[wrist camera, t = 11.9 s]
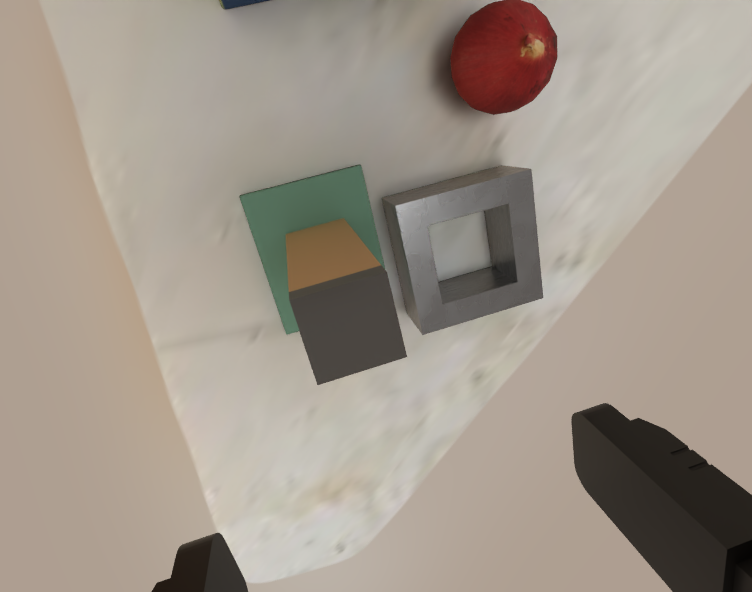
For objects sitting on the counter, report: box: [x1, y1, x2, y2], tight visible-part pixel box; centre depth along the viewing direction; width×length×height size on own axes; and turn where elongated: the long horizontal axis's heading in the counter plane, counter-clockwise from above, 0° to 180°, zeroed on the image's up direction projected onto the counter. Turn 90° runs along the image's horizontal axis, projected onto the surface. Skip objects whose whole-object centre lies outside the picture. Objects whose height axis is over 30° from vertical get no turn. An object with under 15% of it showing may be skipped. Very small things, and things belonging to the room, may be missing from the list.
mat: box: [240, 165, 385, 334], centre depth 31 cm, size 10×8×1 cm
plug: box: [286, 218, 407, 385], centre depth 24 cm, size 4×4×13 cm
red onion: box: [450, 0, 557, 115], centre depth 25 cm, size 6×6×8 cm
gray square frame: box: [382, 166, 543, 335], centre depth 31 cm, size 9×9×4 cm
